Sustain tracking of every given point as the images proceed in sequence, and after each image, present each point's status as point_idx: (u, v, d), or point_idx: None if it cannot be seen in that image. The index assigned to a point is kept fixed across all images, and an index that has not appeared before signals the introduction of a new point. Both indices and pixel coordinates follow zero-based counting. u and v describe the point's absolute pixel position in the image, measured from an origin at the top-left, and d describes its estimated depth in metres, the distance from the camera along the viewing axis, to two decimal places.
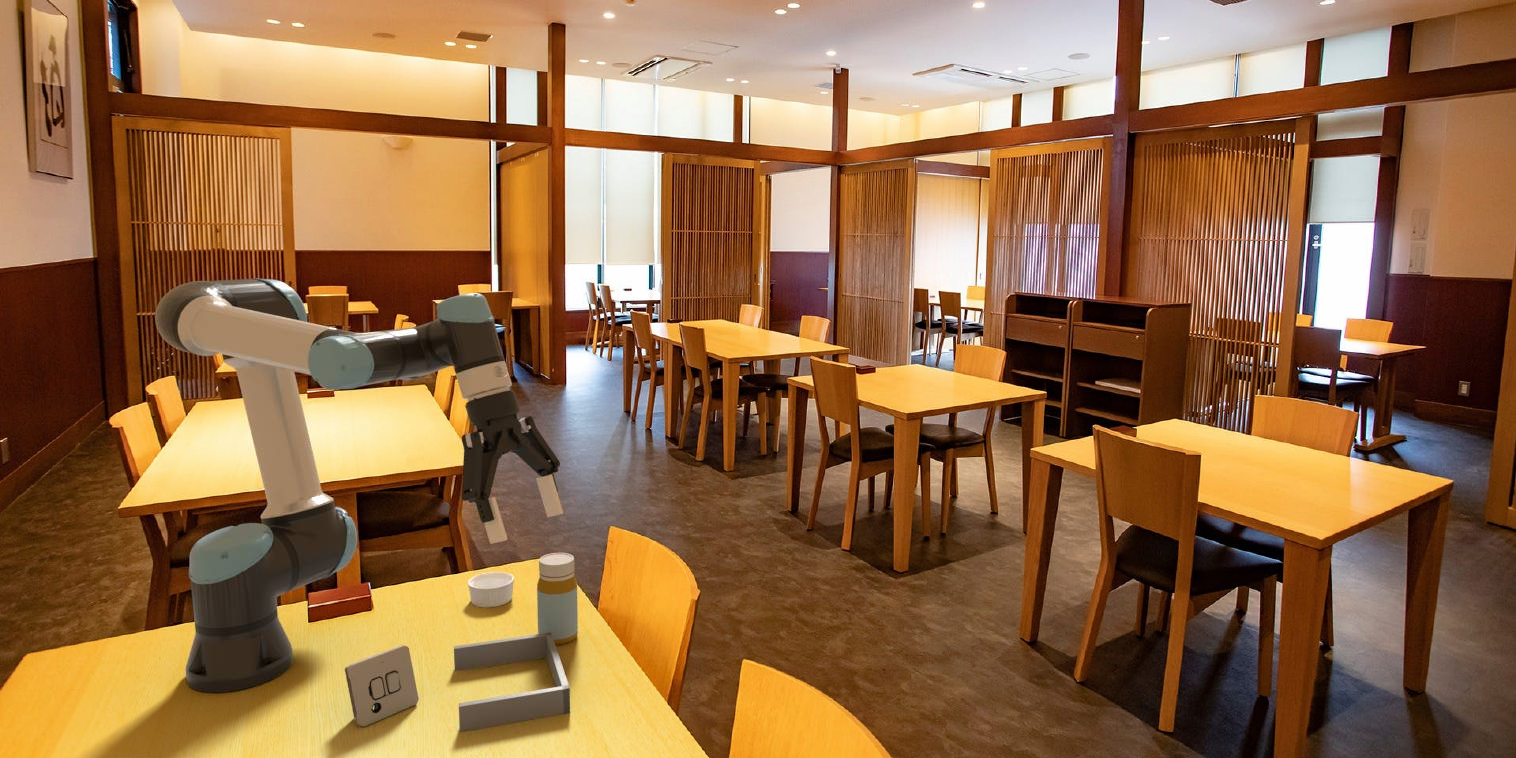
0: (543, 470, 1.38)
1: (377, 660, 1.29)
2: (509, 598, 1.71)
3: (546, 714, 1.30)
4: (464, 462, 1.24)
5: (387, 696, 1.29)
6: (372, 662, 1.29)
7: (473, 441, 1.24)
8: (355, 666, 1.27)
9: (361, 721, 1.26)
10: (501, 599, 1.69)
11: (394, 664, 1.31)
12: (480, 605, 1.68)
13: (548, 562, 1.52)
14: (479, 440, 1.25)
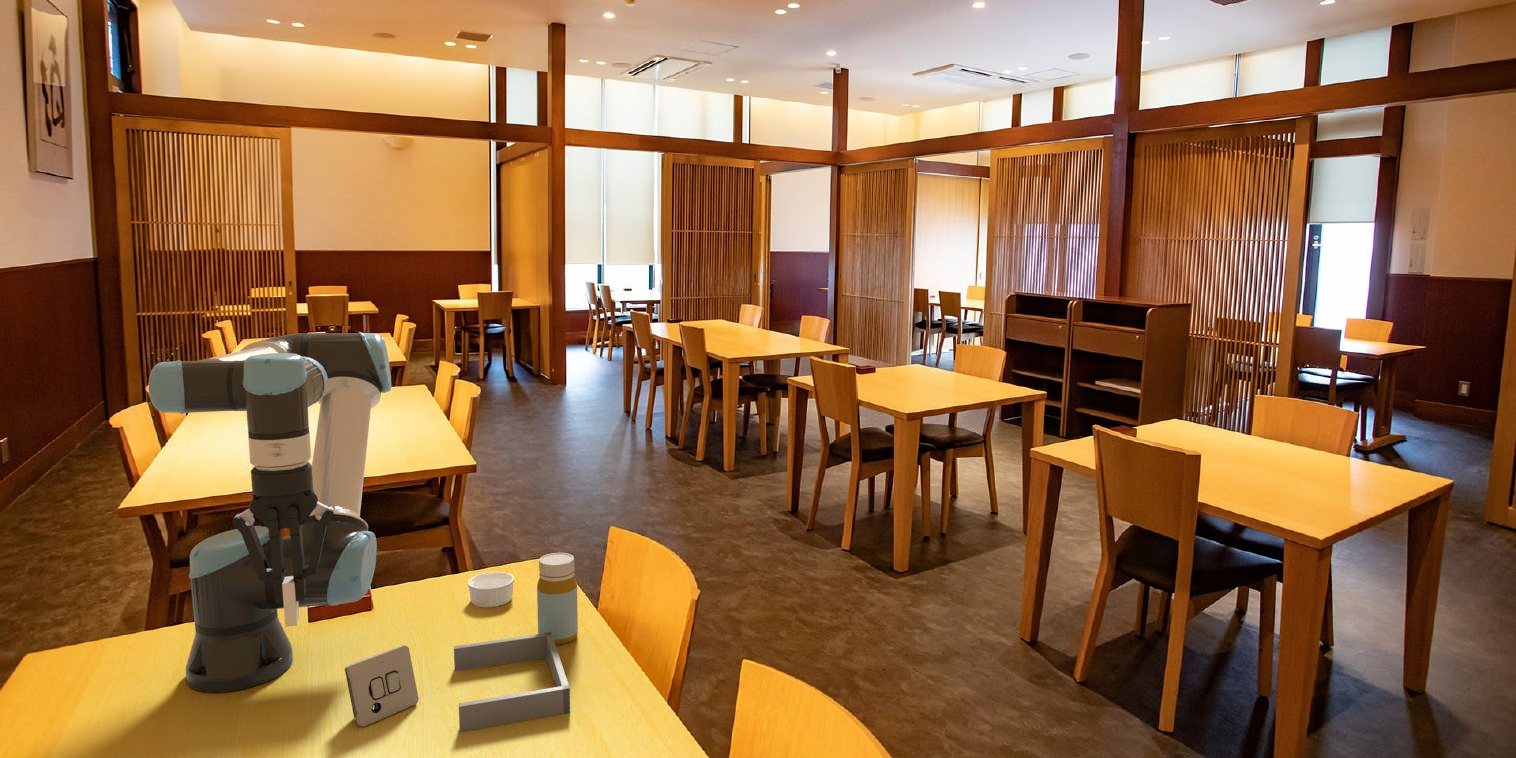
0: None
1: (377, 660, 1.29)
2: (509, 598, 1.71)
3: (546, 714, 1.30)
4: None
5: (387, 696, 1.29)
6: (372, 662, 1.29)
7: None
8: (355, 666, 1.27)
9: (361, 721, 1.26)
10: (501, 599, 1.69)
11: (394, 664, 1.31)
12: (480, 605, 1.68)
13: (548, 562, 1.52)
14: (242, 525, 1.19)
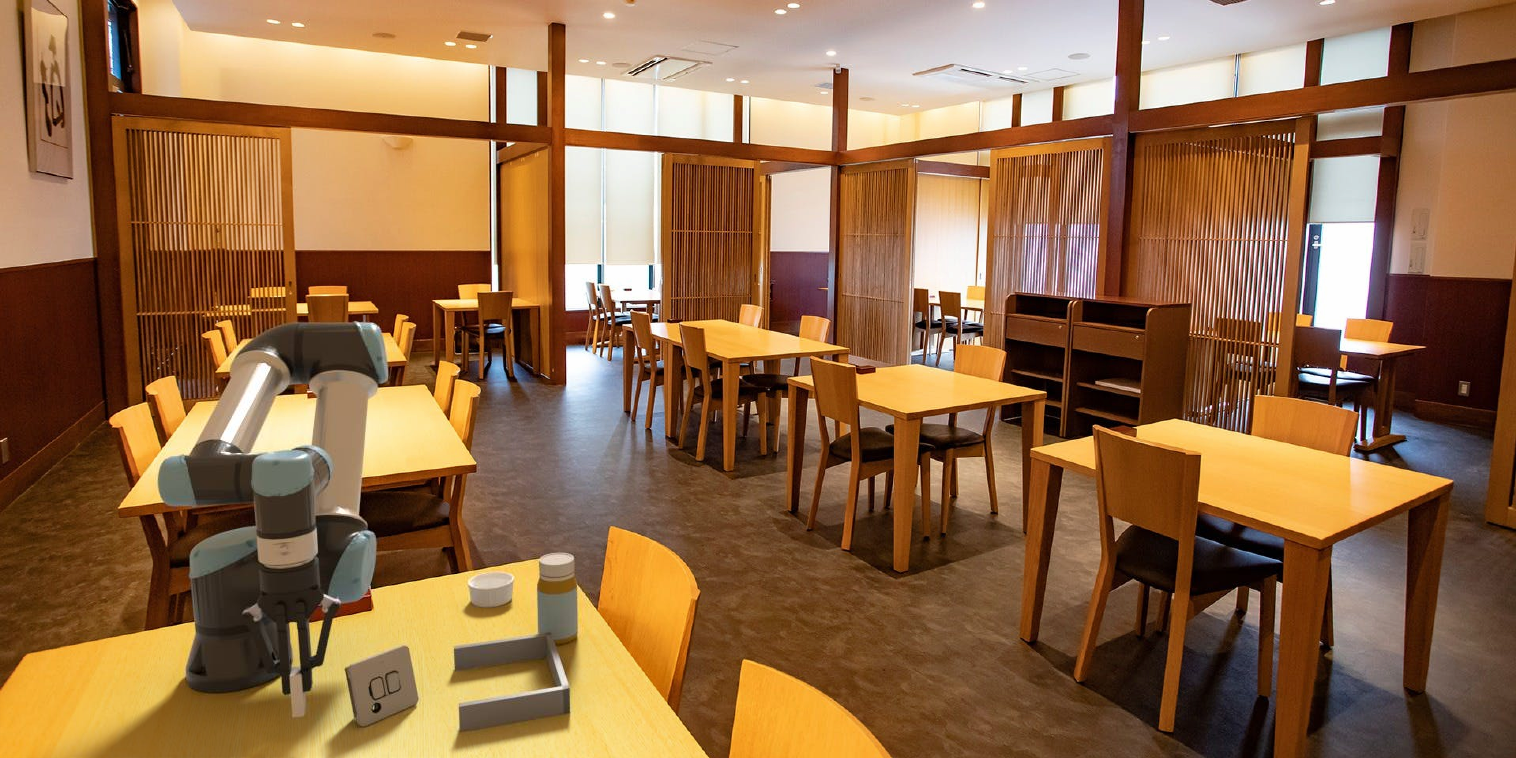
0: None
1: (377, 660, 1.29)
2: (509, 598, 1.71)
3: (546, 714, 1.30)
4: None
5: (387, 696, 1.29)
6: (372, 662, 1.29)
7: None
8: (355, 666, 1.27)
9: (361, 721, 1.26)
10: (501, 599, 1.69)
11: (394, 664, 1.31)
12: (480, 605, 1.68)
13: (548, 562, 1.52)
14: (251, 620, 1.21)
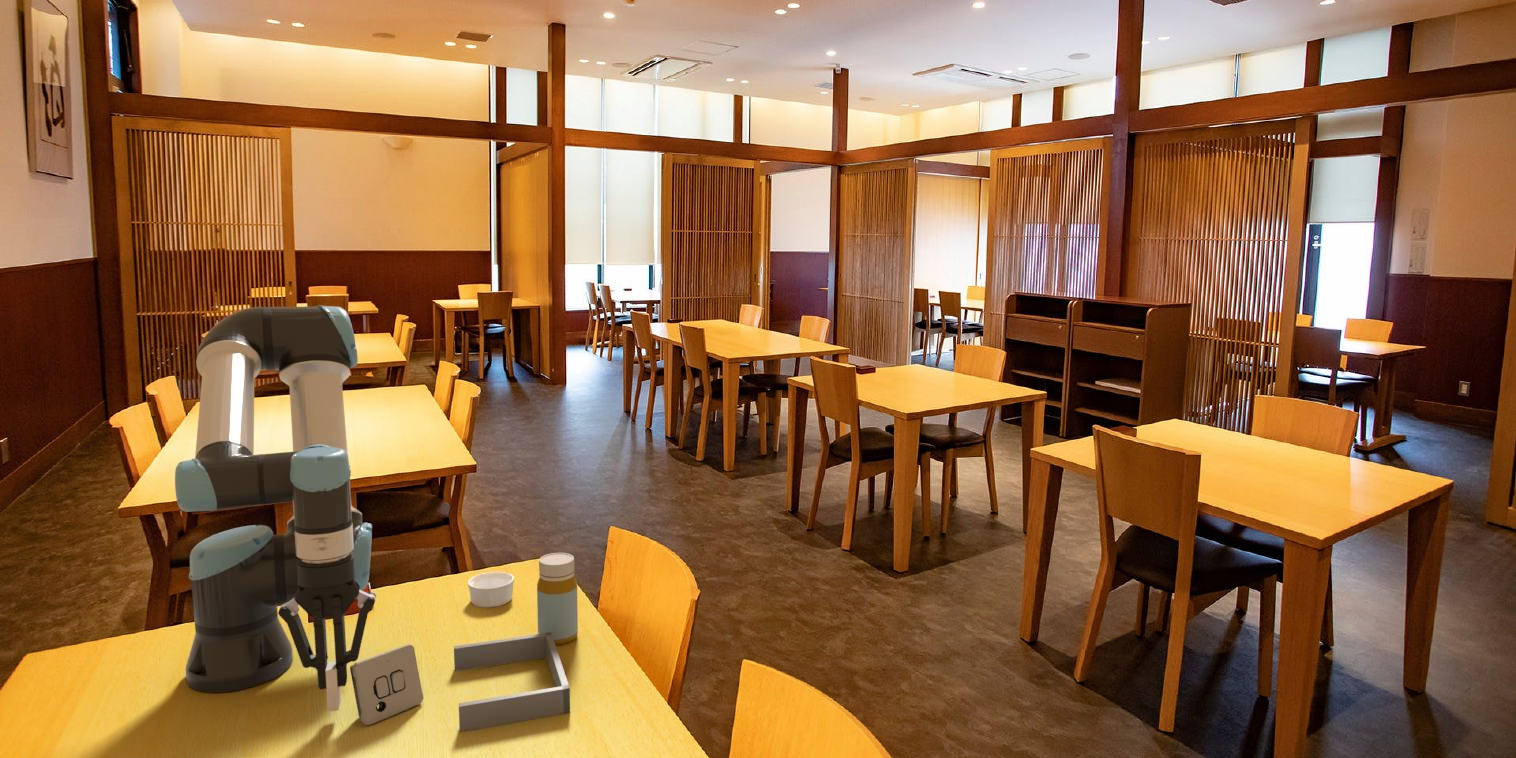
0: None
1: (382, 659, 1.29)
2: (509, 598, 1.71)
3: (546, 714, 1.30)
4: None
5: (392, 695, 1.30)
6: (377, 661, 1.29)
7: None
8: (359, 665, 1.27)
9: (365, 720, 1.26)
10: (501, 599, 1.69)
11: (399, 663, 1.31)
12: (480, 605, 1.68)
13: (548, 562, 1.52)
14: (288, 615, 1.23)
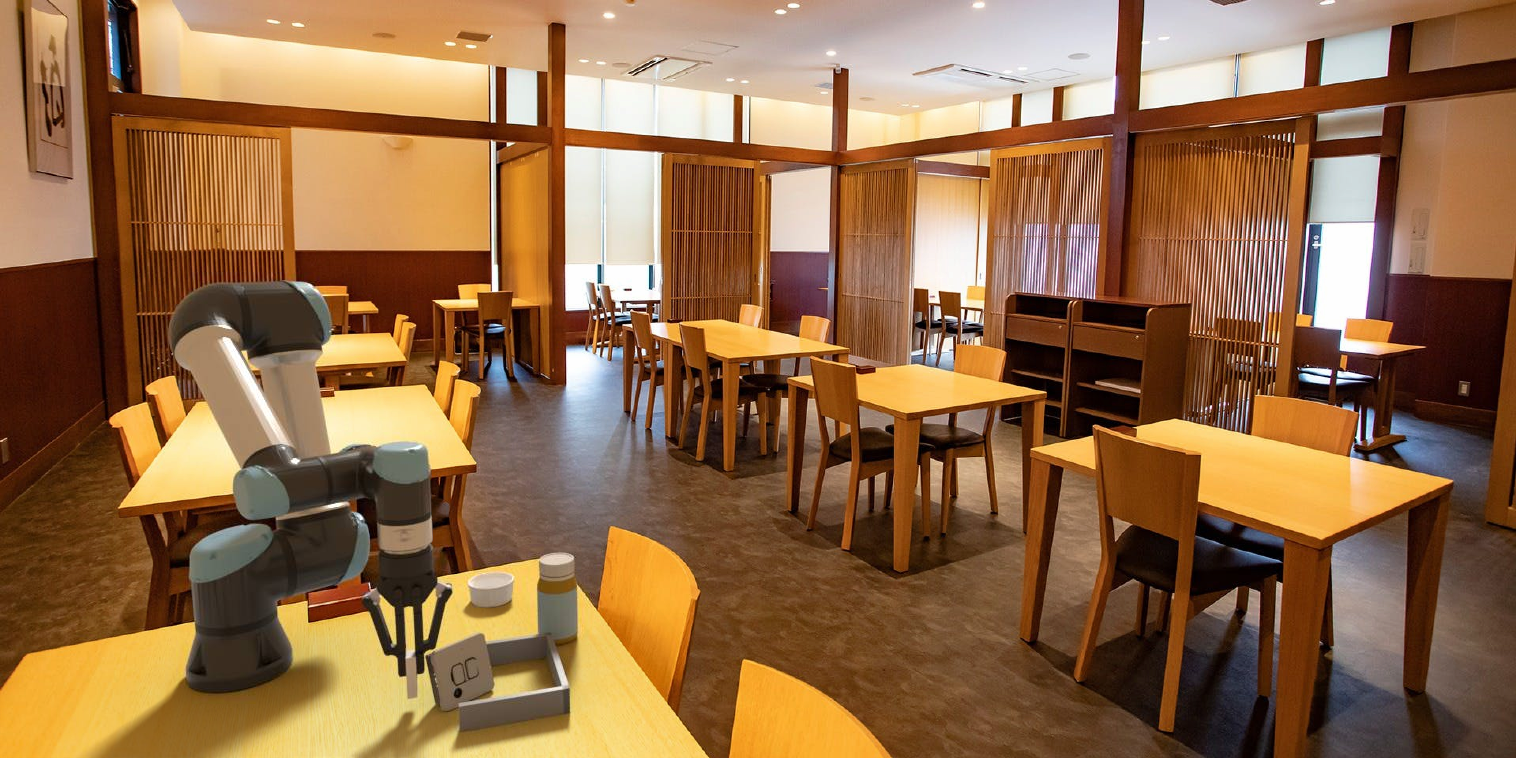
0: None
1: (457, 647, 1.34)
2: (509, 598, 1.71)
3: (546, 714, 1.30)
4: None
5: (467, 682, 1.34)
6: (453, 649, 1.33)
7: None
8: (437, 653, 1.31)
9: (445, 706, 1.30)
10: (501, 599, 1.69)
11: (472, 651, 1.35)
12: (480, 605, 1.68)
13: (548, 561, 1.52)
14: (371, 604, 1.27)
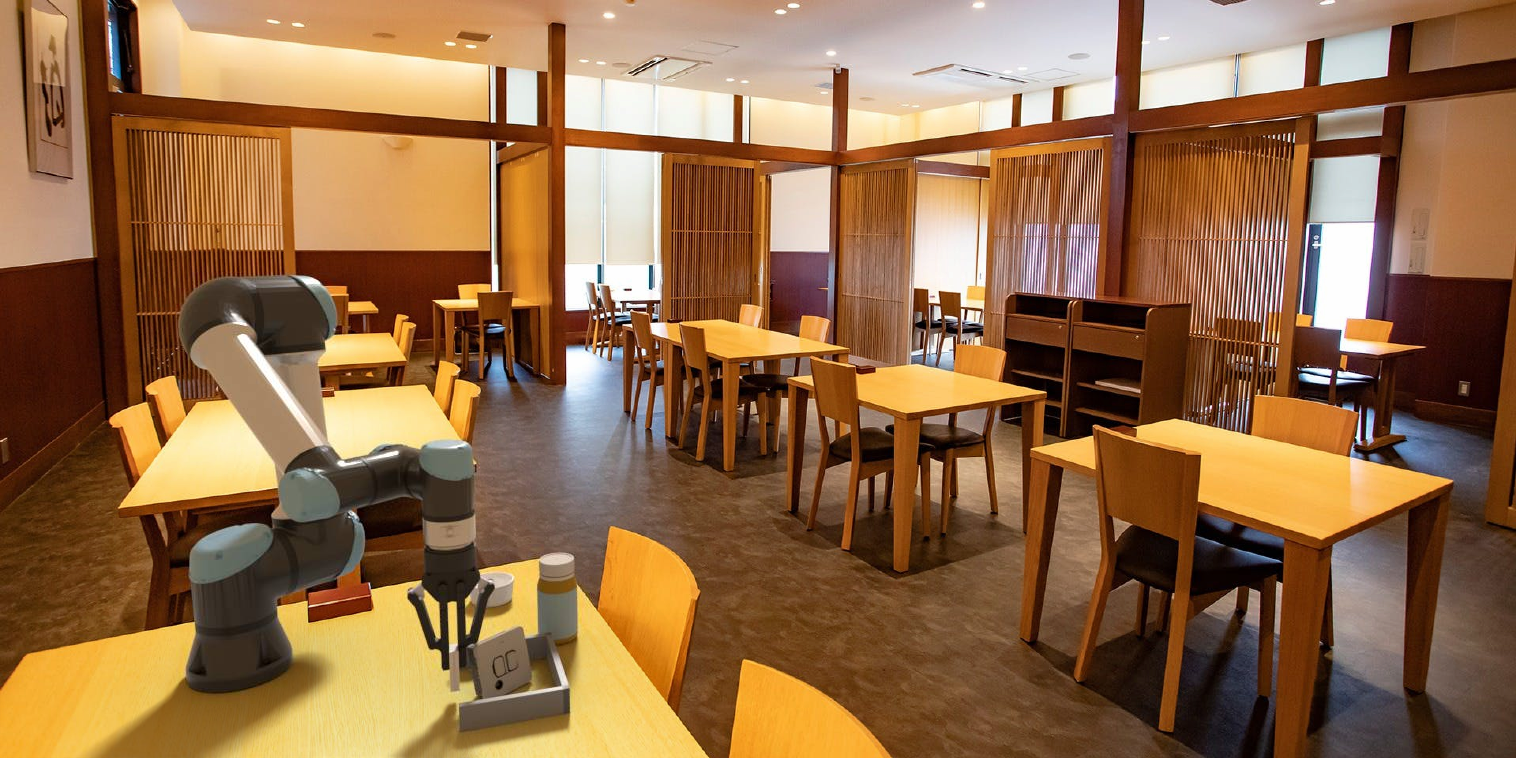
0: None
1: (498, 640, 1.36)
2: (509, 598, 1.71)
3: (546, 714, 1.30)
4: None
5: (507, 674, 1.37)
6: (494, 642, 1.36)
7: None
8: (480, 646, 1.34)
9: (487, 697, 1.33)
10: (501, 599, 1.69)
11: (512, 644, 1.38)
12: None
13: (548, 561, 1.52)
14: (416, 599, 1.29)
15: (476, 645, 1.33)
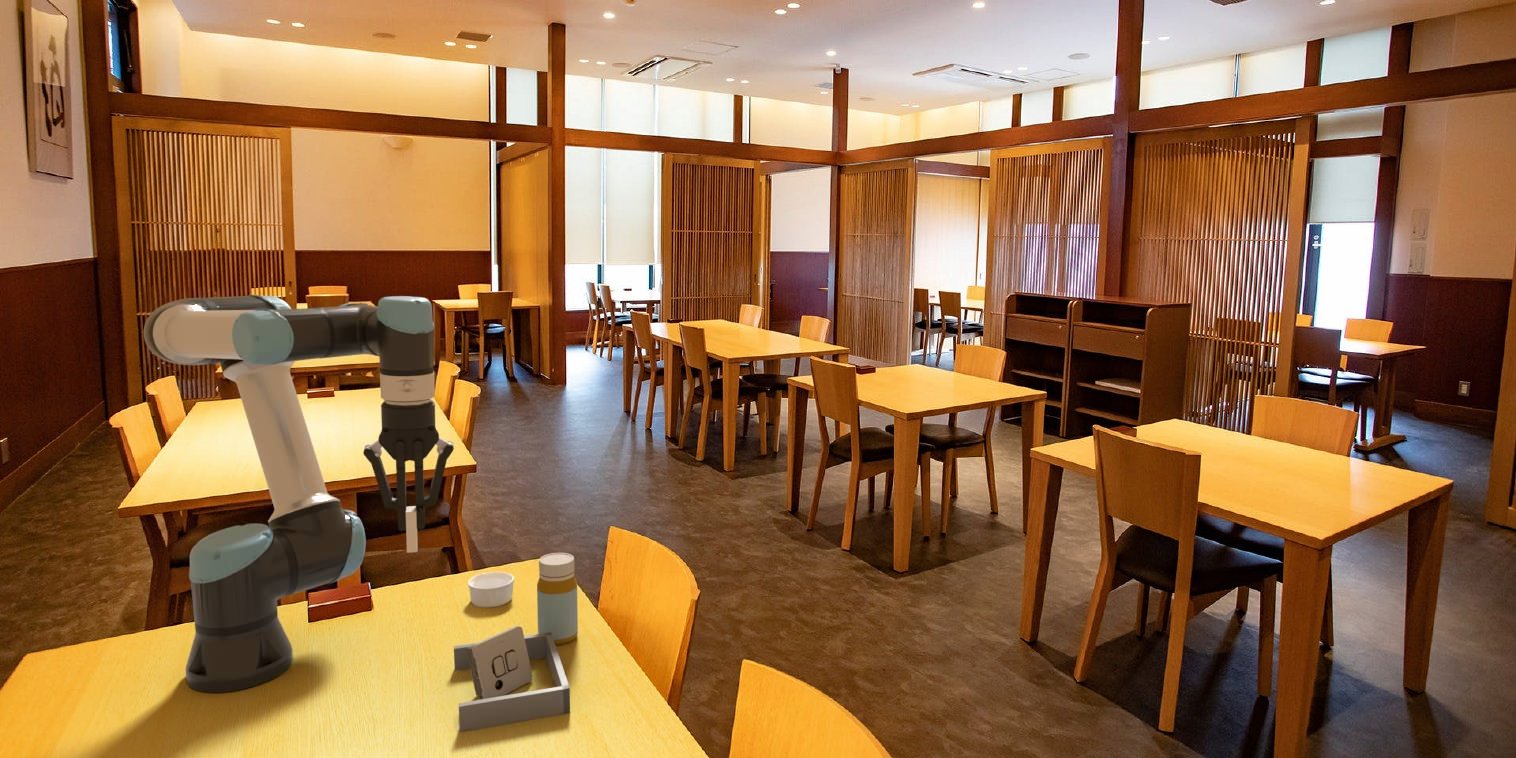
0: None
1: (497, 640, 1.36)
2: (509, 598, 1.71)
3: (546, 714, 1.30)
4: None
5: (507, 674, 1.37)
6: (493, 642, 1.36)
7: (367, 458, 1.28)
8: (479, 646, 1.34)
9: (487, 697, 1.33)
10: (501, 599, 1.69)
11: (511, 643, 1.38)
12: (480, 605, 1.68)
13: (548, 562, 1.52)
14: (372, 455, 1.27)
15: (475, 645, 1.34)
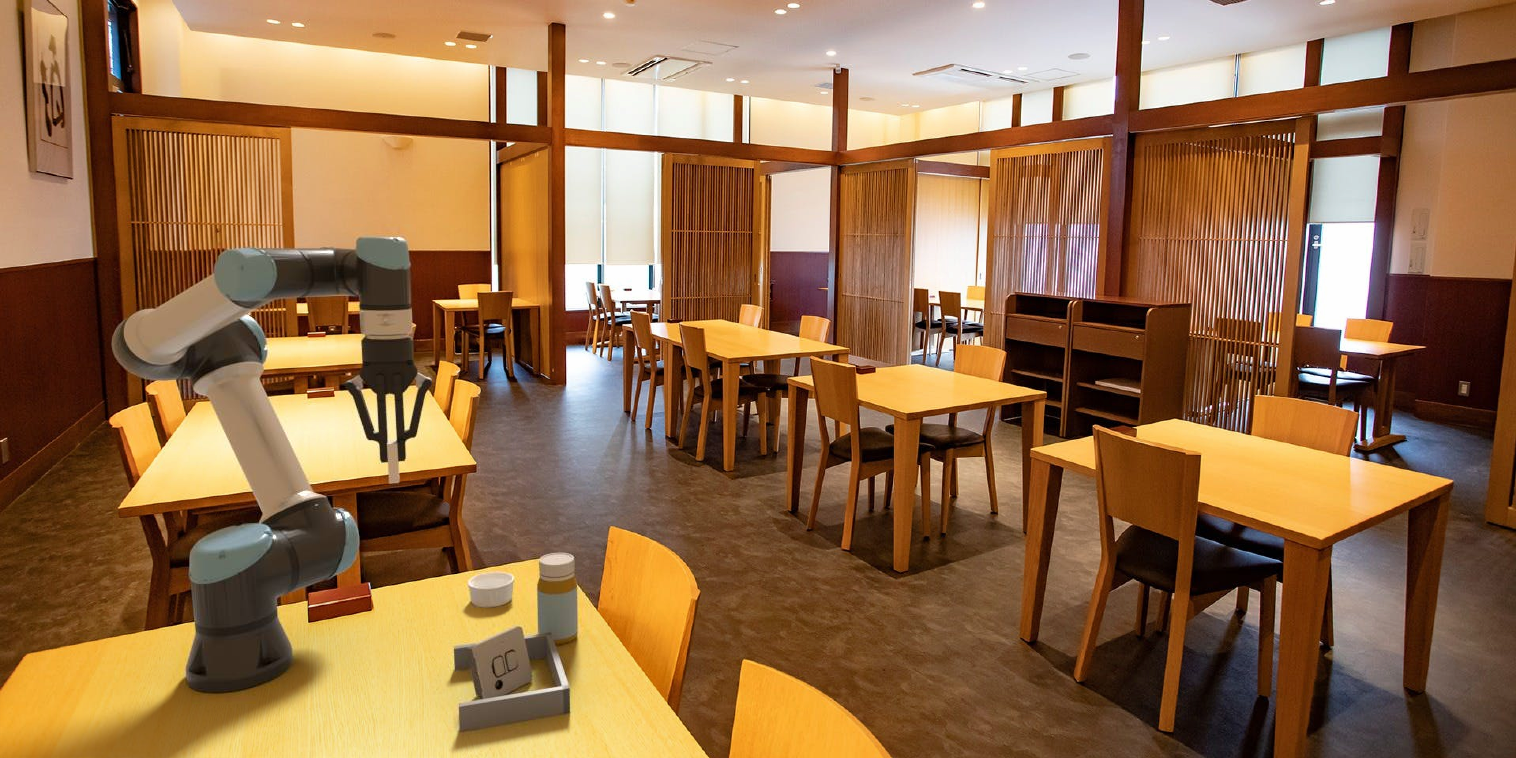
0: None
1: (497, 640, 1.36)
2: (509, 598, 1.71)
3: (546, 714, 1.30)
4: None
5: (507, 674, 1.37)
6: (493, 642, 1.36)
7: None
8: (479, 646, 1.34)
9: (487, 697, 1.33)
10: (501, 599, 1.69)
11: (511, 643, 1.38)
12: (480, 605, 1.68)
13: (548, 562, 1.52)
14: (354, 389, 1.33)
15: (475, 645, 1.34)
